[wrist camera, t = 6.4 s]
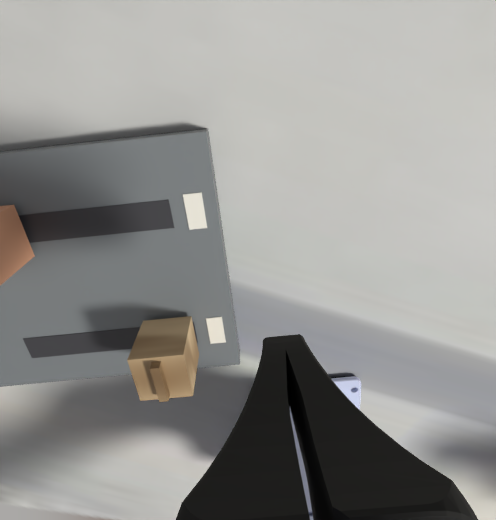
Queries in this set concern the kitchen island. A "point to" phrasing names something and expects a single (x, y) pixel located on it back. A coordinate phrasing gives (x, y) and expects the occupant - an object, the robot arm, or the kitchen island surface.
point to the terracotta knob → (12, 243)
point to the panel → (113, 255)
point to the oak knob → (164, 359)
